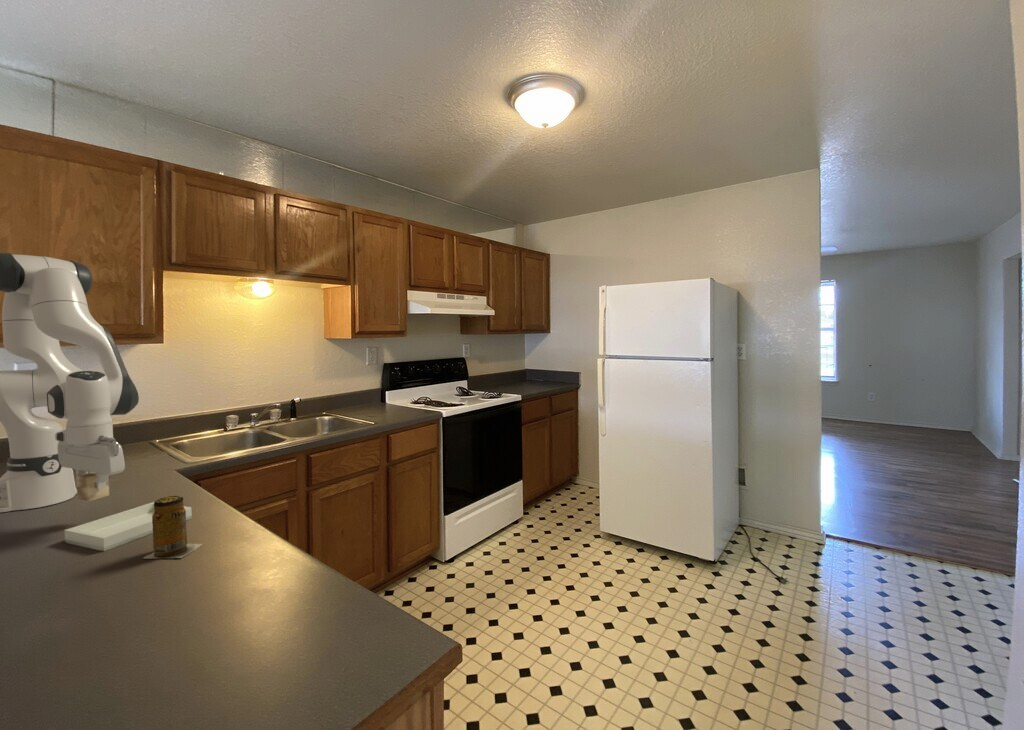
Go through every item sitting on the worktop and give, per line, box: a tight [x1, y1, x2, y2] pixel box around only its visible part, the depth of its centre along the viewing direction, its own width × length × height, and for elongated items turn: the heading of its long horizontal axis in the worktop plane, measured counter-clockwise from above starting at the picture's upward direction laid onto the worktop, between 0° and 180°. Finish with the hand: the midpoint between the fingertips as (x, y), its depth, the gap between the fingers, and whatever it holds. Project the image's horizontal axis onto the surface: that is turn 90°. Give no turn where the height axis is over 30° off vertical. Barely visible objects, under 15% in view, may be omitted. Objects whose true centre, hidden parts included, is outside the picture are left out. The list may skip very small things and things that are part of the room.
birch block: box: [75, 472, 110, 502], centre depth 119 cm, size 4×4×6 cm
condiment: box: [143, 495, 204, 560], centre depth 103 cm, size 7×8×12 cm
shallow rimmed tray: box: [64, 501, 193, 552], centre depth 115 cm, size 14×20×3 cm
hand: (93, 487), depth 119 cm, fingers closed on birch block, 4 cm apart
